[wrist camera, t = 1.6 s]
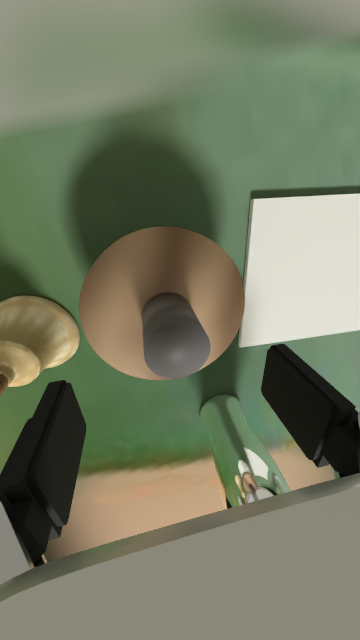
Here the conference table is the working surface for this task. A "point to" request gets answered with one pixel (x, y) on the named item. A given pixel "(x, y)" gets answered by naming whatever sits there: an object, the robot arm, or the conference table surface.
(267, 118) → the conference table surface
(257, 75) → the conference table surface
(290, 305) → the mat
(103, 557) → the robot arm
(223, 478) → the beer glass
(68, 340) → the hand bell
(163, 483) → the conference table surface
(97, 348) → the lid
